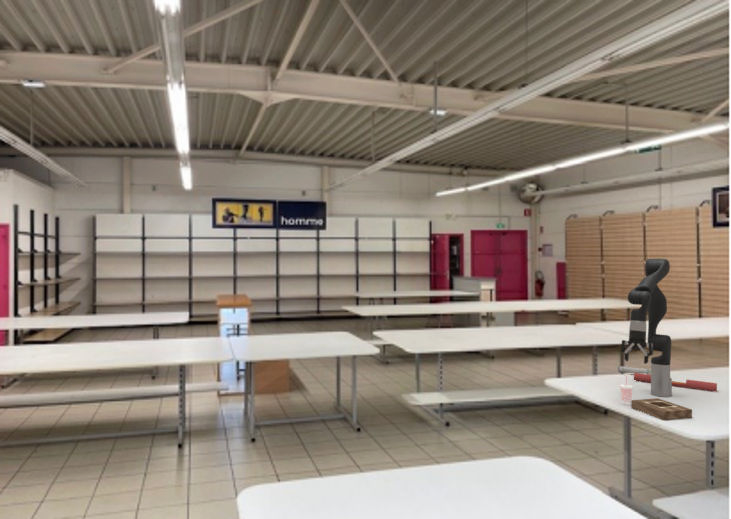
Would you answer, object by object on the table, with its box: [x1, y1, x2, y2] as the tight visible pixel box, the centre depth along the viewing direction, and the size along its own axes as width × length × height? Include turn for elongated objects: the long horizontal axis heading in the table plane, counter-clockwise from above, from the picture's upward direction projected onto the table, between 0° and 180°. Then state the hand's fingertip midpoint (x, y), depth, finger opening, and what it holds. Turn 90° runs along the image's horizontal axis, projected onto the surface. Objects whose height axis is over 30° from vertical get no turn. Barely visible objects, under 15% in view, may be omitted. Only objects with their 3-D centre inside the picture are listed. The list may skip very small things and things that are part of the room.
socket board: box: [630, 397, 693, 421], centre depth 246 cm, size 16×20×4 cm
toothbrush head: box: [617, 365, 651, 375], centre depth 328 cm, size 5×7×25 cm
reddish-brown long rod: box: [633, 373, 718, 392], centre depth 301 cm, size 42×5×5 cm, turn 51°
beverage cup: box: [619, 375, 634, 405], centre depth 263 cm, size 6×6×14 cm
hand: (636, 362), depth 256 cm, fingers open, 8 cm apart
